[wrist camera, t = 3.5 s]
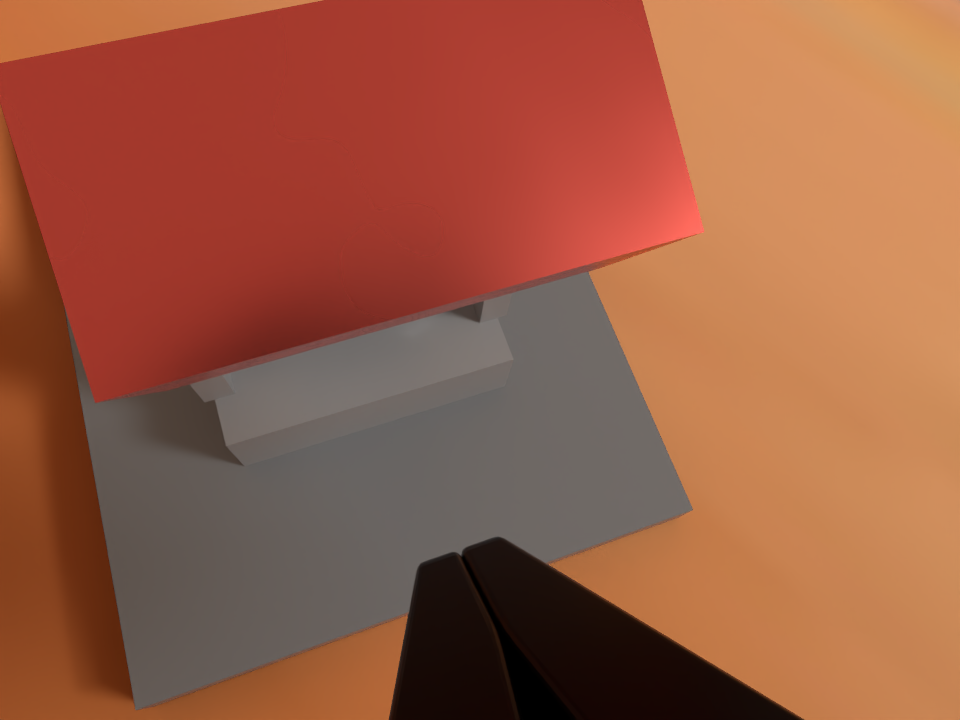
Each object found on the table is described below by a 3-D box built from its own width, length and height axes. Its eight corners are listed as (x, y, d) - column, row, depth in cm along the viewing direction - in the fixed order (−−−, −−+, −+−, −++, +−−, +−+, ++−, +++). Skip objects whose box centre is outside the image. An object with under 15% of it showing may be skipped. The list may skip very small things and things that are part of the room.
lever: (457, 318, 16) (730, 224, 5) (252, 376, 15) (58, 412, 4) (431, 227, 16) (652, -64, 5) (223, 281, 15) (-48, 73, 4)
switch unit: (678, 517, 18) (772, 468, 13) (152, 706, 15) (38, 730, 11) (458, 10, 23) (469, -156, 18) (40, 95, 20) (-72, -69, 16)
